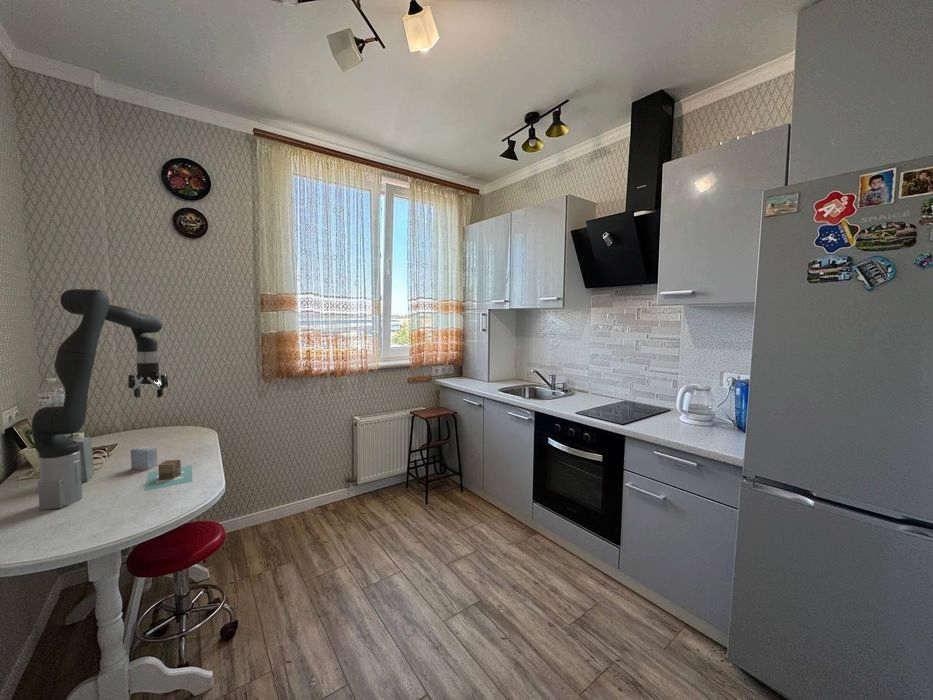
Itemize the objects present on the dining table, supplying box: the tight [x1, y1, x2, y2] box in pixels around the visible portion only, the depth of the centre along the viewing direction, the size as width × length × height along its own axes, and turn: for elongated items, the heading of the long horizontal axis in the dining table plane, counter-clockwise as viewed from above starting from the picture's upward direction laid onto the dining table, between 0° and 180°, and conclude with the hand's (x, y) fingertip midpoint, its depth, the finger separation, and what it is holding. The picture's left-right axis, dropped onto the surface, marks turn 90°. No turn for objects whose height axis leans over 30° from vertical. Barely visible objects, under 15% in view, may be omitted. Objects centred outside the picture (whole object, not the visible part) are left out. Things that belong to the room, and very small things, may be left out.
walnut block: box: [157, 459, 182, 480], centre depth 144 cm, size 5×5×6 cm
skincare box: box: [70, 436, 95, 483], centre depth 141 cm, size 8×7×16 cm
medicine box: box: [130, 446, 159, 471], centre depth 153 cm, size 8×4×9 cm, turn 84°
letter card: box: [144, 464, 193, 492], centre depth 144 cm, size 20×14×1 cm
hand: (148, 397), depth 163 cm, fingers open, 8 cm apart
